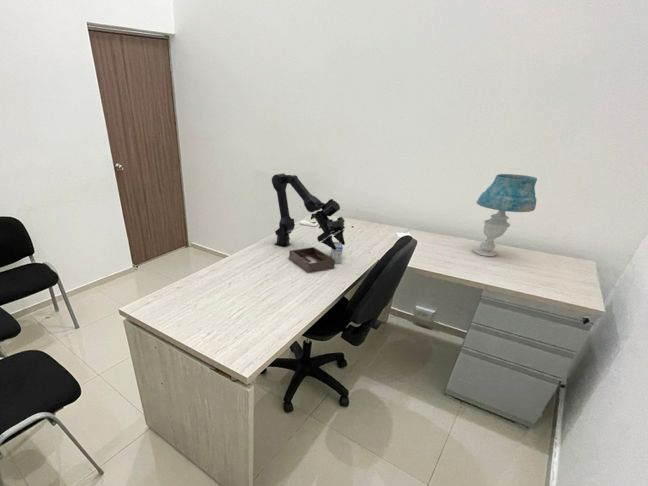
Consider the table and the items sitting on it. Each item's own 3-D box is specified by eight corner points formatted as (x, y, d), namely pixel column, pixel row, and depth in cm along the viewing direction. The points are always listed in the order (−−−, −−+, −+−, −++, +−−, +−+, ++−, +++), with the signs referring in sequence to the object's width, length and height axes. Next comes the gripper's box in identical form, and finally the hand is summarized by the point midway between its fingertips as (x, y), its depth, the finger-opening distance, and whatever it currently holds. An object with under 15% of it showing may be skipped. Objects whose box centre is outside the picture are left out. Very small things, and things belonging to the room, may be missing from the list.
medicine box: (330, 256, 175) (332, 241, 171) (338, 257, 175) (341, 242, 170) (331, 262, 169) (333, 246, 164) (340, 263, 168) (343, 247, 164)
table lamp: (463, 258, 173) (494, 179, 153) (455, 243, 192) (481, 171, 173) (518, 264, 166) (557, 182, 146) (504, 248, 185) (537, 174, 165)
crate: (288, 258, 174) (289, 250, 171) (312, 254, 178) (313, 246, 176) (308, 272, 158) (309, 264, 156) (333, 268, 163) (335, 259, 161)
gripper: (326, 216, 156) (343, 243, 155) (344, 209, 168) (360, 234, 167) (309, 228, 165) (326, 254, 164) (328, 220, 176) (343, 245, 175)
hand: (339, 247), depth 167 cm, fingers open, 9 cm apart
